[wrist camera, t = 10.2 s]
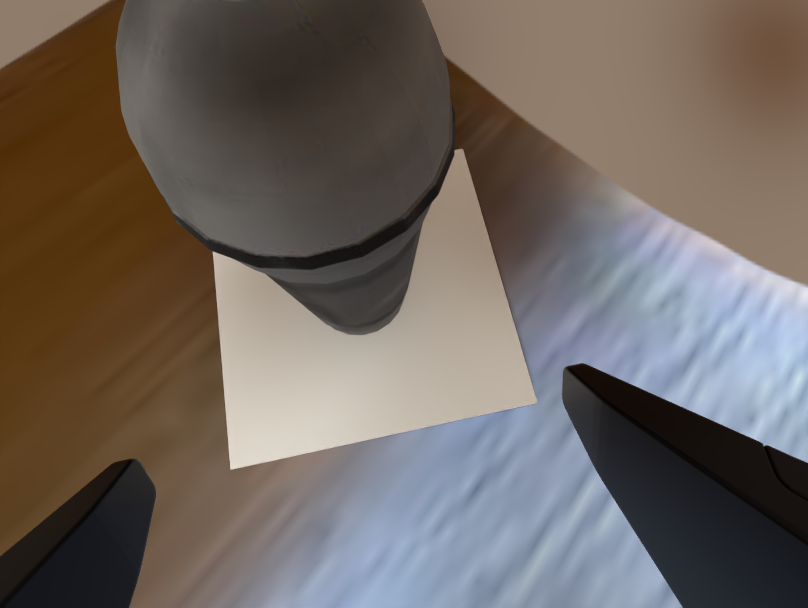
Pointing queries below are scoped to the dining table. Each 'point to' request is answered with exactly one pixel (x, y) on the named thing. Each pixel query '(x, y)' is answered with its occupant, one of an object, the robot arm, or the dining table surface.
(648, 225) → the dining table surface
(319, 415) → the board
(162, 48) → the beverage cup
